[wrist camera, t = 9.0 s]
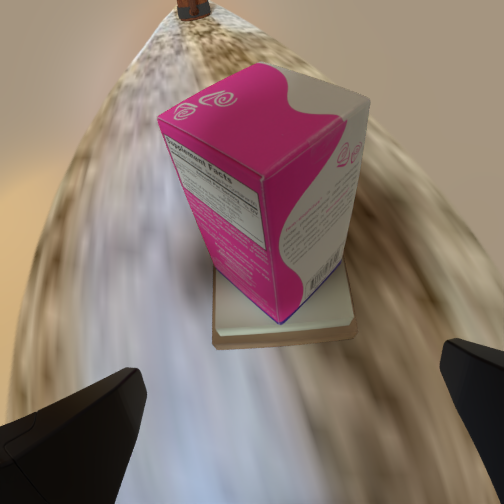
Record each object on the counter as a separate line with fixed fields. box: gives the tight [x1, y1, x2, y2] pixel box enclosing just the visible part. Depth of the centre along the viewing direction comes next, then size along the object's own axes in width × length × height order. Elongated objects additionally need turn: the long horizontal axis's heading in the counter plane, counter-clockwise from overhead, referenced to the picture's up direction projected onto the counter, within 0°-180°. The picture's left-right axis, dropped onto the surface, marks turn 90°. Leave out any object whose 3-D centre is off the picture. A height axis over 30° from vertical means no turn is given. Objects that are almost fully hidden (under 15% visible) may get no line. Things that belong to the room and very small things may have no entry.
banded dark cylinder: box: [177, 0, 211, 21], centre depth 59 cm, size 9×12×12 cm
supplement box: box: [157, 62, 370, 325], centre depth 15 cm, size 6×6×12 cm
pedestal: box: [212, 255, 358, 350], centre depth 21 cm, size 9×9×3 cm
